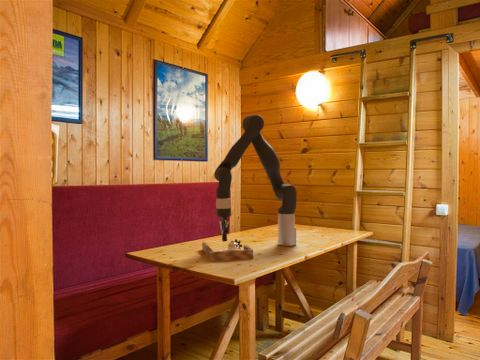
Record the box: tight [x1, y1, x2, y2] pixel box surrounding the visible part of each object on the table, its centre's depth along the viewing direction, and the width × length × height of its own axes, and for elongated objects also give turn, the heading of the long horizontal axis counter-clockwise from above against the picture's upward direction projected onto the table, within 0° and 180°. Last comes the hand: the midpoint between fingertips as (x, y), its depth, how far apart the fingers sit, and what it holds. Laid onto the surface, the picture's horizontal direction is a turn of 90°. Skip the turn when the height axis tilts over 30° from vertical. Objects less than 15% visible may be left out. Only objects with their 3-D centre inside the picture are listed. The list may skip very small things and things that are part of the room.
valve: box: [227, 238, 243, 249], centre depth 181 cm, size 7×7×12 cm
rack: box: [201, 241, 254, 262], centre depth 182 cm, size 20×26×5 cm
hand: (224, 241), depth 188 cm, fingers closed
